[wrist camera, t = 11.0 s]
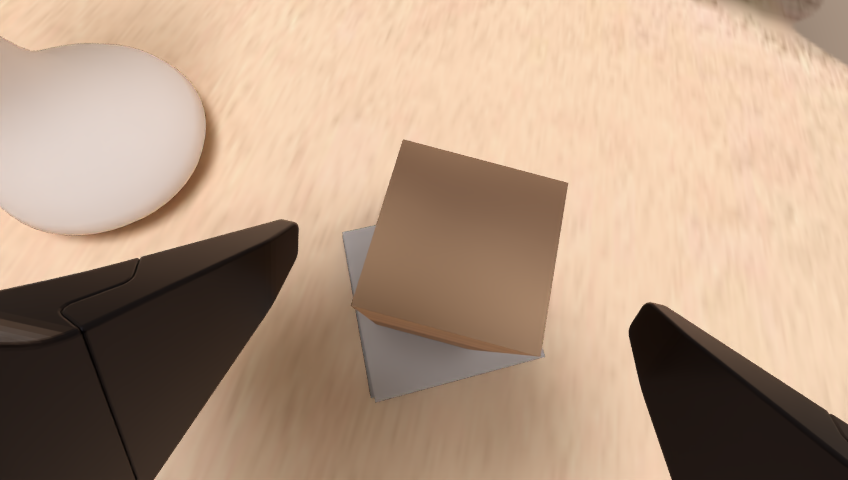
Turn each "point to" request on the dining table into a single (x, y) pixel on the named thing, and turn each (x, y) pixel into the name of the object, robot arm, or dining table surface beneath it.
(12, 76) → the flower in vase
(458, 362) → the upper grey slab
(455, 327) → the walnut post
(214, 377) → the robot arm
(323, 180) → the dining table surface
